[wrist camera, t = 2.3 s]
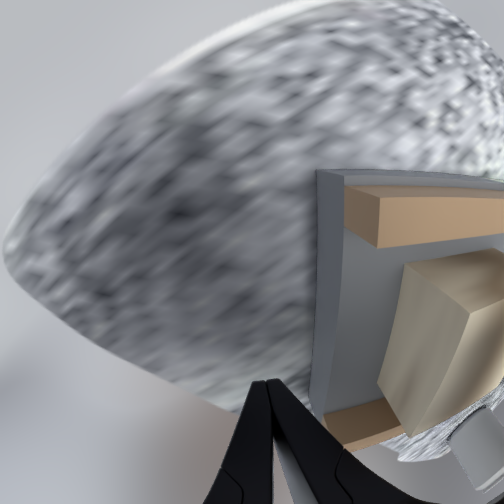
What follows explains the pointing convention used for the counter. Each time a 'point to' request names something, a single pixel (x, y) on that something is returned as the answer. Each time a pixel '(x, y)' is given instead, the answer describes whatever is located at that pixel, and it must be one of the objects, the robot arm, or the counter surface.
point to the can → (480, 448)
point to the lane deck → (381, 278)
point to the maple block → (445, 338)
